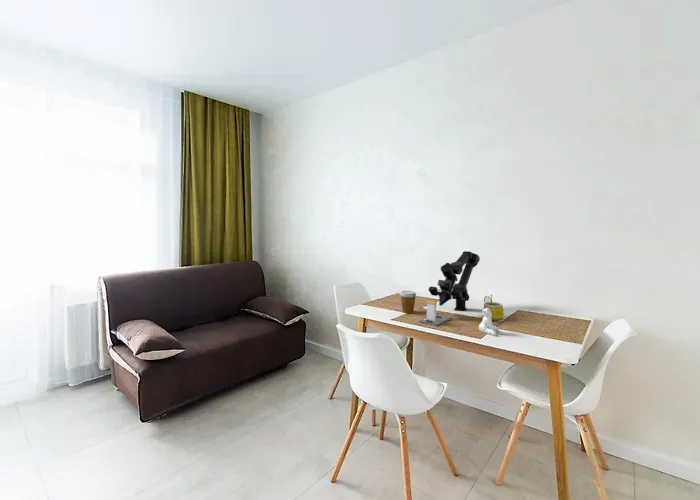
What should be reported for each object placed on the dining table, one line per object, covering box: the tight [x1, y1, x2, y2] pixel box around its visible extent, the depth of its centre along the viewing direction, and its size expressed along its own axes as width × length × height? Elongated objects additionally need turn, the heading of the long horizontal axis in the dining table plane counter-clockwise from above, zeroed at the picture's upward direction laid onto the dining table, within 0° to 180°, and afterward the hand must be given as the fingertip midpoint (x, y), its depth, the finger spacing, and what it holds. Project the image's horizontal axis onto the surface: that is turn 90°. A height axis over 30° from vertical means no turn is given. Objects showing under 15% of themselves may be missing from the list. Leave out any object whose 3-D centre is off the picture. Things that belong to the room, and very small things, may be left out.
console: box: [419, 313, 453, 327], centre depth 185 cm, size 18×10×2 cm, turn 138°
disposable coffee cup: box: [399, 290, 417, 314], centre depth 202 cm, size 10×10×12 cm
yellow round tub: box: [482, 294, 505, 321], centre depth 190 cm, size 13×11×12 cm
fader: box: [426, 300, 438, 322], centre depth 181 cm, size 2×5×10 cm, turn 48°
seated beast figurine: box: [478, 308, 500, 337], centre depth 165 cm, size 10×9×12 cm
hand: (440, 305), depth 188 cm, fingers closed
